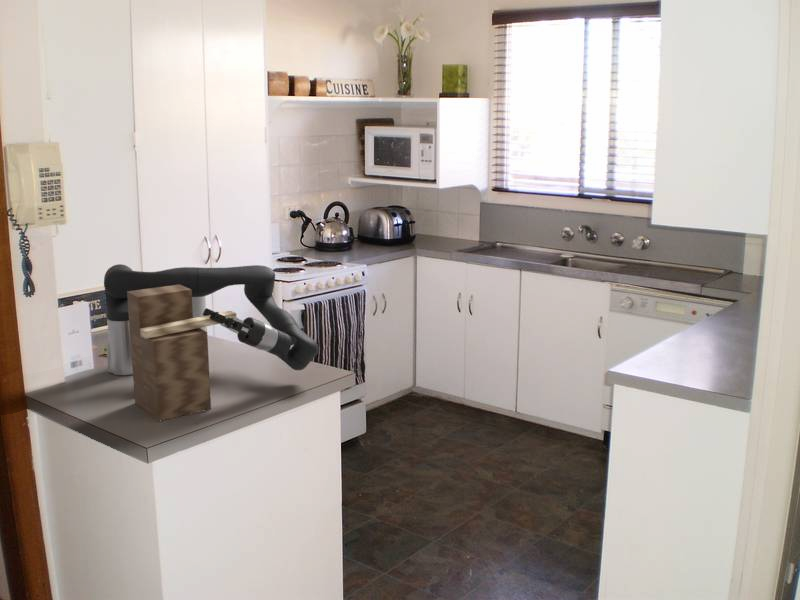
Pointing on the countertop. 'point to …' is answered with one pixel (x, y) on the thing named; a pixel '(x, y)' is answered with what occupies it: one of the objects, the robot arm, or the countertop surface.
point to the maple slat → (181, 325)
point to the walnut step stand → (168, 354)
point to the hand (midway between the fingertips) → (208, 313)
